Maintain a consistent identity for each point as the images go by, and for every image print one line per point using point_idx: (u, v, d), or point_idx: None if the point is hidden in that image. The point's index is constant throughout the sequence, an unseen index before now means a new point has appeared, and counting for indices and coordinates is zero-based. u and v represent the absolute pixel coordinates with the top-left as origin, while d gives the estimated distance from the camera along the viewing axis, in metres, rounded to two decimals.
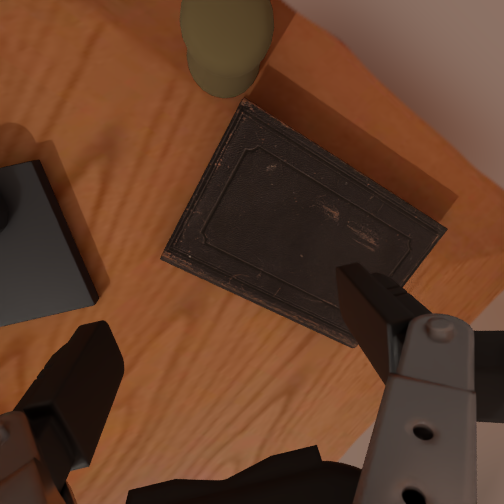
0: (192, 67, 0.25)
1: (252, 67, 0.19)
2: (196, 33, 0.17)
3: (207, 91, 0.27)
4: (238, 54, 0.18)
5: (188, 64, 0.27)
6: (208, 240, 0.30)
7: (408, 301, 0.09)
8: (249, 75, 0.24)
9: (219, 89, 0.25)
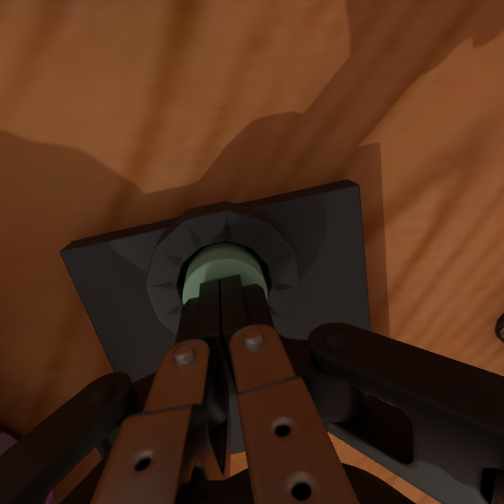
0: None
1: None
2: None
3: None
4: None
5: None
6: None
7: (262, 311, 0.10)
8: None
9: None
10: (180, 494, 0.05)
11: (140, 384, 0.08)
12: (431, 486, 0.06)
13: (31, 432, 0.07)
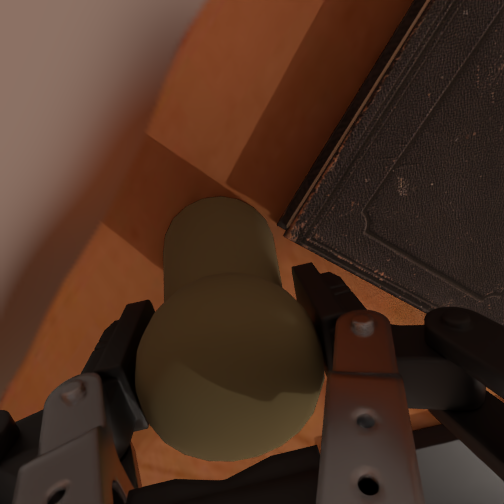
0: None
1: (313, 327, 0.09)
2: (266, 450, 0.09)
3: None
4: (304, 382, 0.08)
5: None
6: (497, 289, 0.18)
7: (349, 299, 0.10)
8: (263, 242, 0.14)
9: None
10: None
11: (29, 421, 0.08)
12: None
13: None
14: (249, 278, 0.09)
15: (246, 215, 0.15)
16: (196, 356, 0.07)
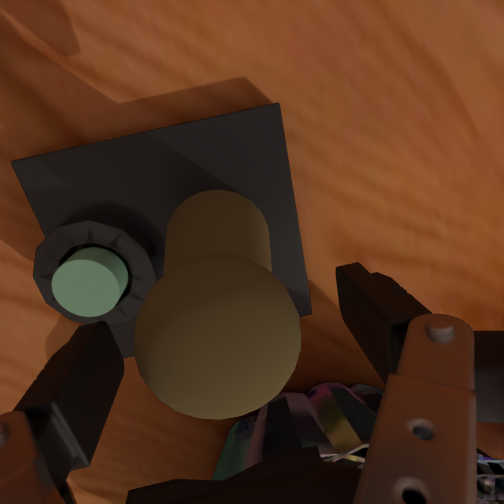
0: None
1: (290, 301, 0.10)
2: (247, 409, 0.10)
3: None
4: (279, 348, 0.09)
5: None
6: None
7: (408, 301, 0.09)
8: (256, 231, 0.15)
9: None
10: None
11: None
12: None
13: None
14: (234, 258, 0.10)
15: (241, 206, 0.17)
16: (184, 320, 0.08)
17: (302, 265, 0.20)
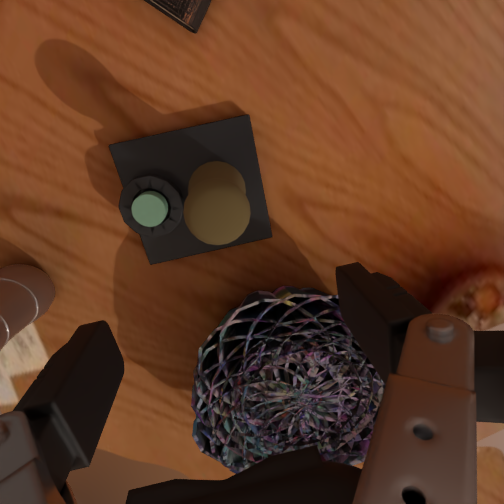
0: None
1: (244, 195, 0.25)
2: (228, 237, 0.25)
3: None
4: (239, 209, 0.24)
5: None
6: None
7: (408, 301, 0.09)
8: (235, 179, 0.30)
9: None
10: None
11: None
12: None
13: None
14: (223, 179, 0.25)
15: (229, 168, 0.32)
16: (204, 196, 0.24)
17: (265, 206, 0.35)
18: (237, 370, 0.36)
